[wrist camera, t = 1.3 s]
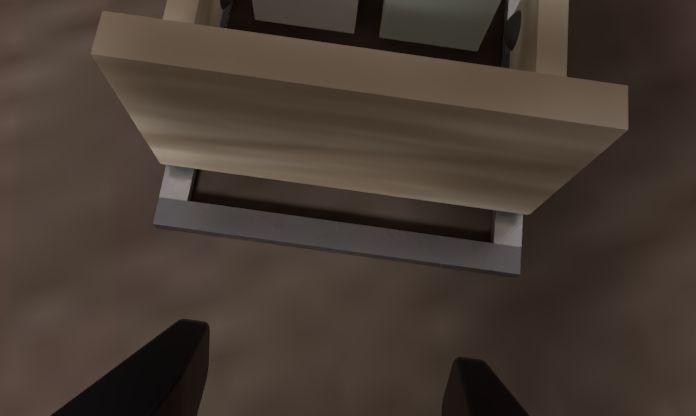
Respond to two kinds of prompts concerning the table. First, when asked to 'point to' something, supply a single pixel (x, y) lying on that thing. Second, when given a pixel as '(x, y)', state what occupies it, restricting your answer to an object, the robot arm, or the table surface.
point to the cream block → (309, 13)
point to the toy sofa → (362, 107)
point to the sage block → (438, 21)
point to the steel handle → (341, 223)
